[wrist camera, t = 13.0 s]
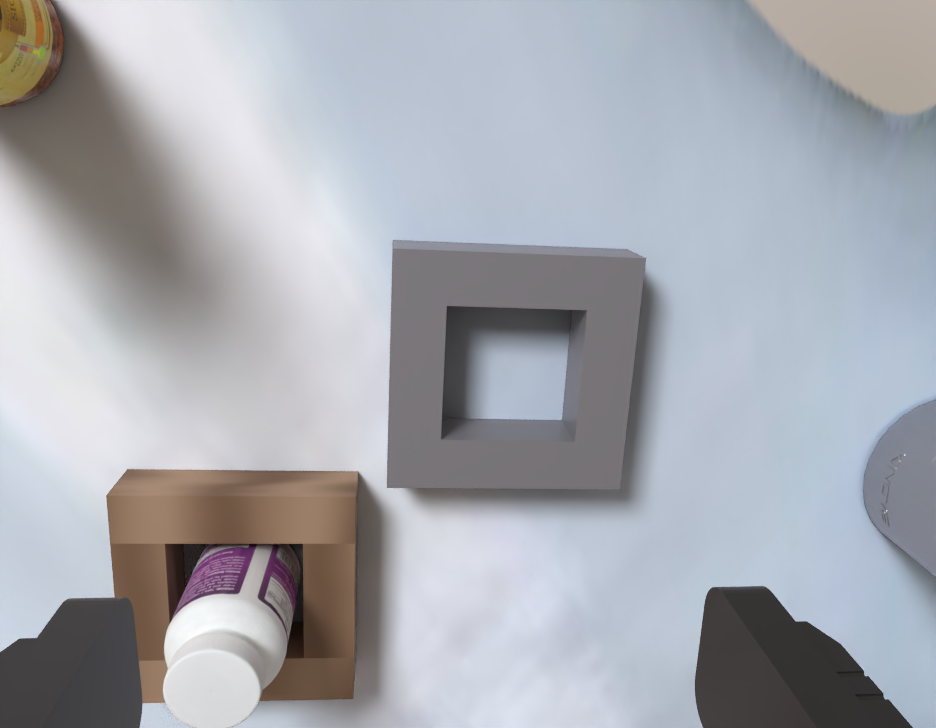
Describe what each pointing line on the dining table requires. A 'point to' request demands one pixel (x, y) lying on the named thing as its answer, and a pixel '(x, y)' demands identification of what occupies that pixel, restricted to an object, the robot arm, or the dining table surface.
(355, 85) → the dining table surface
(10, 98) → the sauce bottle
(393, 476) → the grey square frame
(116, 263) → the dining table surface
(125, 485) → the dock
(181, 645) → the pill bottle
